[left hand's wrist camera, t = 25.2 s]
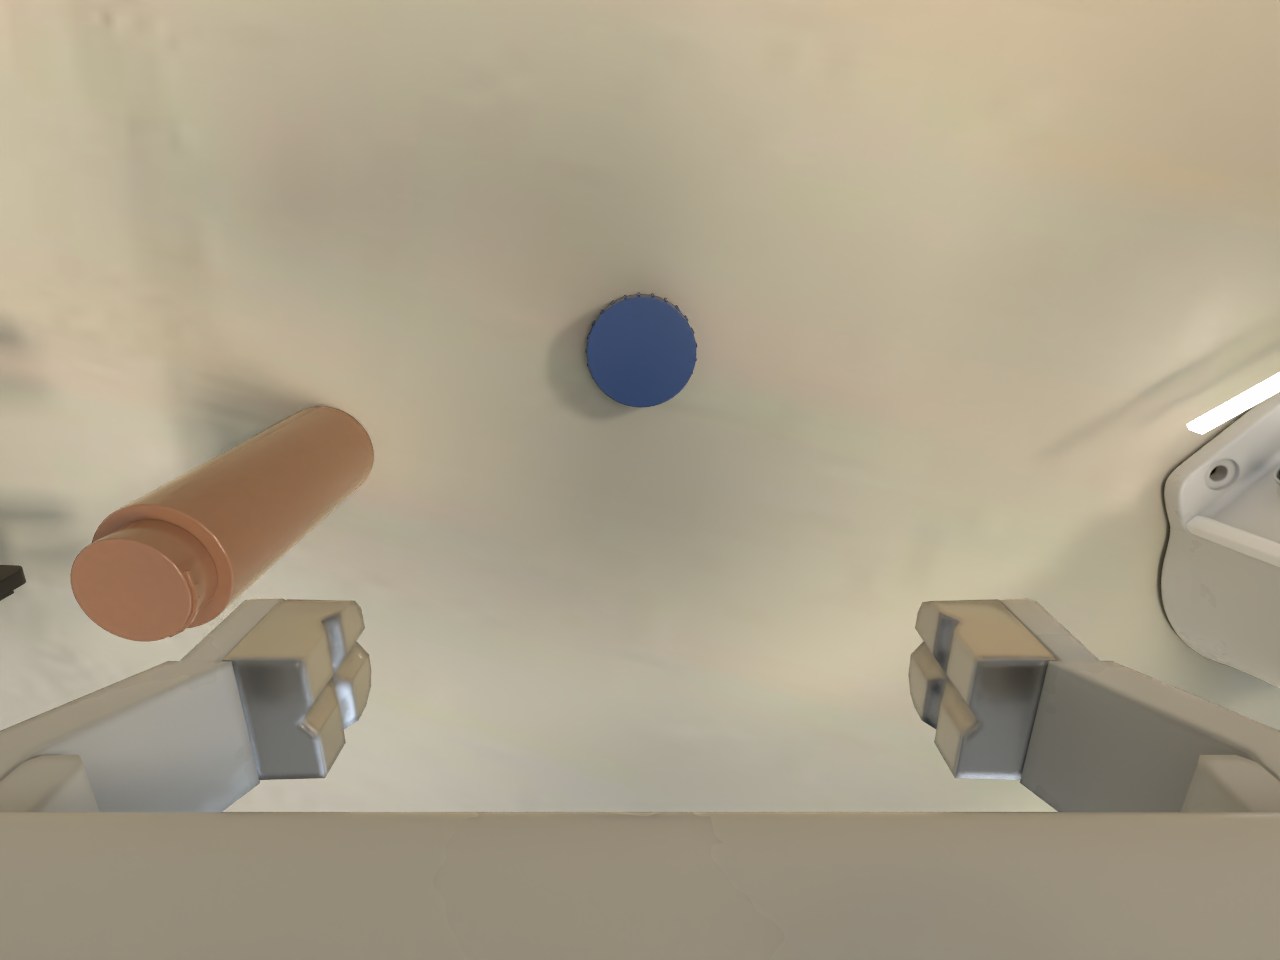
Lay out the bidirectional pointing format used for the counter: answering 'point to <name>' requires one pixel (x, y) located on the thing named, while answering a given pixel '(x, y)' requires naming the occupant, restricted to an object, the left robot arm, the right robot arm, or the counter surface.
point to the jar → (218, 526)
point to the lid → (641, 350)
